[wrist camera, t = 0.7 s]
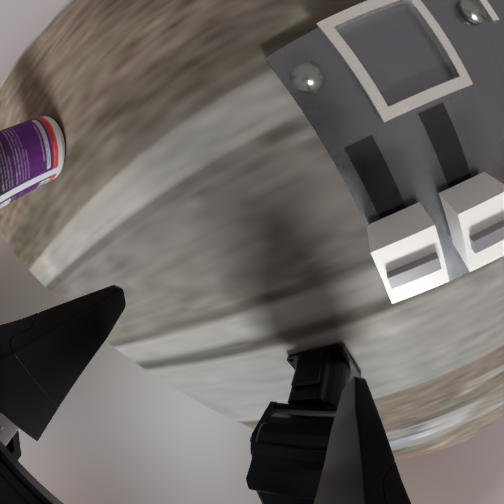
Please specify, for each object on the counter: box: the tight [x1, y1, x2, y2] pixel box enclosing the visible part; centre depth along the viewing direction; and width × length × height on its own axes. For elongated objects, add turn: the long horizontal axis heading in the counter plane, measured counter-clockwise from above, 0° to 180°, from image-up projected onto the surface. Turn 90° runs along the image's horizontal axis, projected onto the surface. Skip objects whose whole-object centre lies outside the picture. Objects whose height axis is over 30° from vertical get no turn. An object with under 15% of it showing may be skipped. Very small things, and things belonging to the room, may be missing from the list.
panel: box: [265, 0, 504, 281], centre depth 11 cm, size 20×20×2 cm
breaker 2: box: [439, 172, 504, 272], centre depth 12 cm, size 4×4×4 cm
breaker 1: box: [366, 202, 449, 304], centre depth 15 cm, size 4×4×4 cm
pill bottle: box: [0, 116, 65, 209], centre depth 18 cm, size 8×8×14 cm
